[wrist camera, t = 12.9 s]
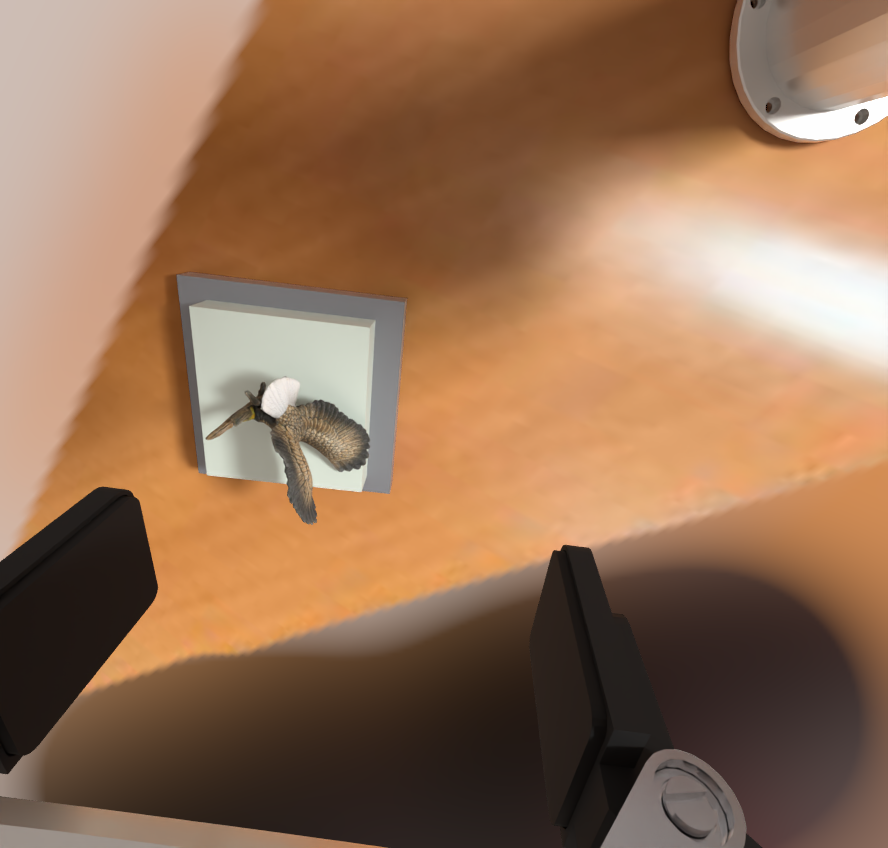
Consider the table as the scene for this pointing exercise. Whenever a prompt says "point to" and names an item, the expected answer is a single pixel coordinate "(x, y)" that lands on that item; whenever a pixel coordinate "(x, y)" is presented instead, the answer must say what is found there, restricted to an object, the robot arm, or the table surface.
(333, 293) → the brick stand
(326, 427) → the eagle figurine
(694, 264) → the table surface
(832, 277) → the table surface
